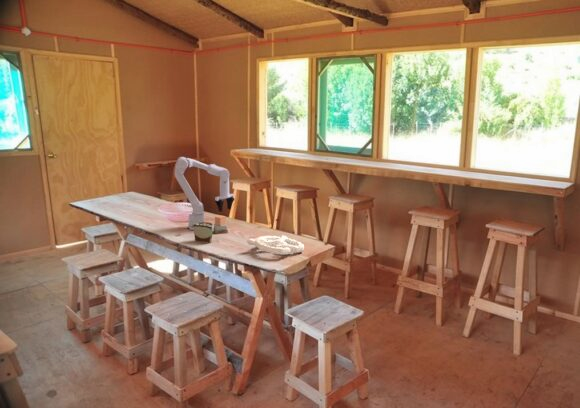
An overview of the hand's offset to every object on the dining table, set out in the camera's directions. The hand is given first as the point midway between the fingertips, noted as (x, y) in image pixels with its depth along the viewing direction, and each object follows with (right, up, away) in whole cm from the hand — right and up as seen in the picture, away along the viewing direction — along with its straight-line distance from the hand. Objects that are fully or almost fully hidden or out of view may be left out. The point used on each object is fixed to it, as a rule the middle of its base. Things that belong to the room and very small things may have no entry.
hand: (224, 210), depth 269 cm
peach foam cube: (-1, -8, -10) cm, 13 cm away
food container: (-7, -17, -25) cm, 31 cm away
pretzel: (+33, -21, -39) cm, 55 cm away
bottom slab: (-1, -13, -9) cm, 16 cm away
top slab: (-1, -11, -9) cm, 14 cm away
